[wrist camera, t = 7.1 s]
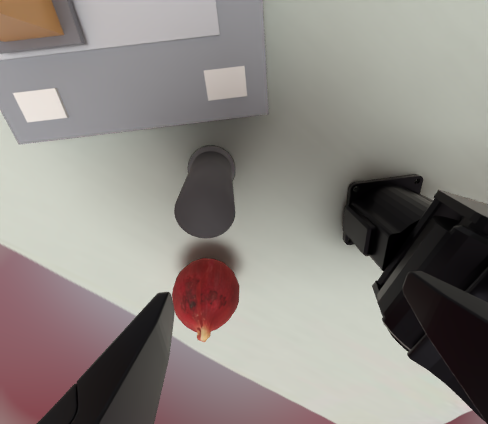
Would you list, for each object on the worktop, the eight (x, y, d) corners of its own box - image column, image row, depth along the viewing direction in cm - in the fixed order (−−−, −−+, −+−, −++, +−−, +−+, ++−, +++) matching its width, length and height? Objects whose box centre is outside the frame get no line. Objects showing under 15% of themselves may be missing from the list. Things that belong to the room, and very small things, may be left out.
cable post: (231, 142, 19) (236, 174, 12) (237, 187, 21) (244, 238, 14) (184, 148, 19) (160, 184, 12) (193, 192, 21) (177, 246, 14)
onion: (169, 253, 23) (145, 324, 16) (224, 233, 23) (224, 299, 16) (195, 293, 26) (184, 369, 19) (244, 276, 25) (252, 348, 18)
